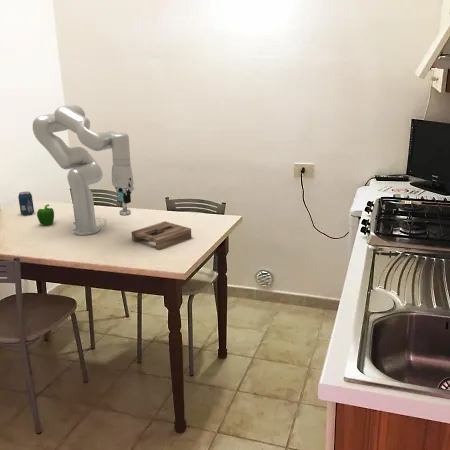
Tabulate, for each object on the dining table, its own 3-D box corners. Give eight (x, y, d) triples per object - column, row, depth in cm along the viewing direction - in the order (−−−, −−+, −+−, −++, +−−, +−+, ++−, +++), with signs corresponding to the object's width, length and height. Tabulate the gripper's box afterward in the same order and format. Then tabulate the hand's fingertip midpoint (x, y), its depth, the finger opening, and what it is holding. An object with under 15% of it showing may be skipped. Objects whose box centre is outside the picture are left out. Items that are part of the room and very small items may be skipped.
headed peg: (117, 214, 229) (115, 191, 226) (126, 211, 233) (124, 189, 229) (124, 216, 226) (122, 193, 223) (133, 213, 229) (131, 191, 226)
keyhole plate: (132, 241, 229) (131, 231, 228) (165, 230, 243) (164, 221, 242) (158, 249, 218) (157, 240, 216) (191, 237, 232) (191, 228, 230)
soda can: (25, 212, 279) (21, 191, 276) (36, 212, 278) (33, 191, 275) (18, 215, 273) (15, 194, 269) (30, 216, 272) (27, 194, 268)
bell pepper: (42, 228, 251) (39, 208, 248) (36, 224, 257) (33, 205, 254) (58, 224, 257) (56, 205, 253) (52, 221, 262) (49, 202, 259)
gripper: (103, 160, 224) (106, 200, 230) (126, 165, 214) (129, 207, 219) (117, 158, 230) (119, 197, 235) (140, 163, 219) (142, 203, 225)
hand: (124, 201), depth 227 cm, fingers closed on headed peg, 4 cm apart
